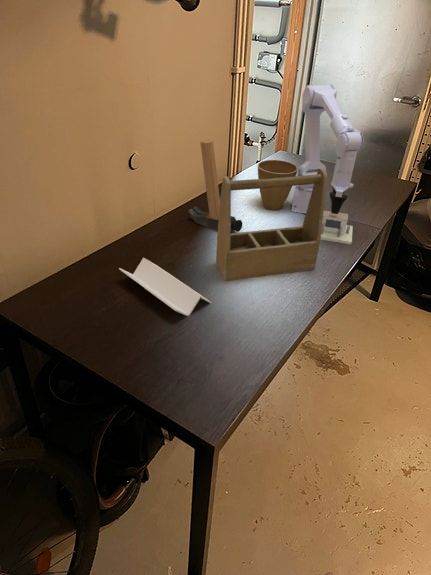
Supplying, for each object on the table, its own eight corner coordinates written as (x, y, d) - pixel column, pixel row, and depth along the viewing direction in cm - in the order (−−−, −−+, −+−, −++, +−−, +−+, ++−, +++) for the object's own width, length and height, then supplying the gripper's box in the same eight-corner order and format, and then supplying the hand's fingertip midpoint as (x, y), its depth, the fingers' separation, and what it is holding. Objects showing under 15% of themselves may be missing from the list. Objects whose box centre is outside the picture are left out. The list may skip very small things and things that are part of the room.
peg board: (306, 237, 149) (308, 228, 147) (310, 222, 158) (312, 213, 156) (351, 244, 146) (353, 235, 144) (352, 228, 155) (354, 219, 153)
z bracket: (145, 282, 131) (156, 264, 131) (200, 321, 117) (212, 302, 117) (118, 268, 121) (130, 250, 121) (175, 310, 107) (188, 289, 107)
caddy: (224, 282, 125) (230, 184, 108) (215, 262, 134) (218, 169, 116) (315, 270, 132) (334, 176, 114) (300, 252, 140) (316, 163, 123)
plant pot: (292, 215, 162) (298, 175, 152) (252, 212, 163) (256, 171, 154) (291, 199, 174) (297, 160, 164) (255, 196, 175) (258, 157, 166)
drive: (317, 231, 150) (320, 215, 147) (319, 225, 154) (322, 210, 150) (344, 235, 148) (347, 219, 145) (344, 229, 152) (348, 214, 149)
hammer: (190, 226, 157) (177, 141, 142) (198, 221, 160) (187, 138, 146) (234, 234, 145) (225, 143, 131) (243, 229, 149) (235, 139, 134)
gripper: (355, 179, 132) (346, 219, 140) (356, 164, 143) (347, 201, 151) (332, 176, 133) (324, 216, 141) (335, 161, 145) (327, 198, 153)
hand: (335, 208), depth 146 cm, fingers open, 7 cm apart
